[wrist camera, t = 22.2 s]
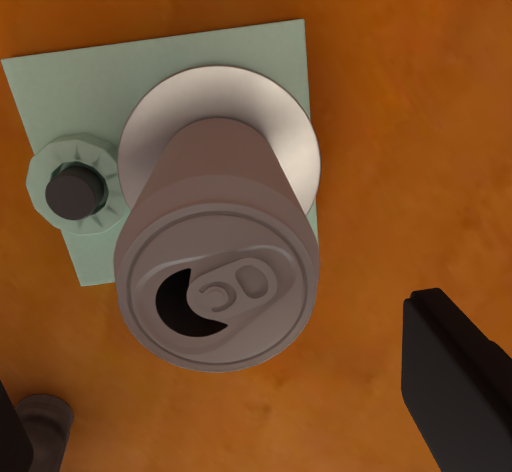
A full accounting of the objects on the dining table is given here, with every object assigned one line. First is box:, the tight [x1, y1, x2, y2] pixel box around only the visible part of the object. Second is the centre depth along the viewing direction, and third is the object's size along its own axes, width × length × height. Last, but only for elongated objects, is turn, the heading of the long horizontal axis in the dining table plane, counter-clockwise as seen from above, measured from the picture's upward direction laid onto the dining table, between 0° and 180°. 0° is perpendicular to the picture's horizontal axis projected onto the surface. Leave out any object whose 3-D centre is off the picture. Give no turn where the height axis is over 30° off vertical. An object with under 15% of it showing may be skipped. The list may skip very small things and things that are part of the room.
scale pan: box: [117, 64, 321, 216], centre depth 23 cm, size 11×11×1 cm
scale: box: [1, 19, 319, 287], centre depth 25 cm, size 16×14×3 cm
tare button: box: [45, 166, 104, 220], centre depth 23 cm, size 3×3×2 cm
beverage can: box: [113, 118, 320, 372], centre depth 17 cm, size 6×6×12 cm
